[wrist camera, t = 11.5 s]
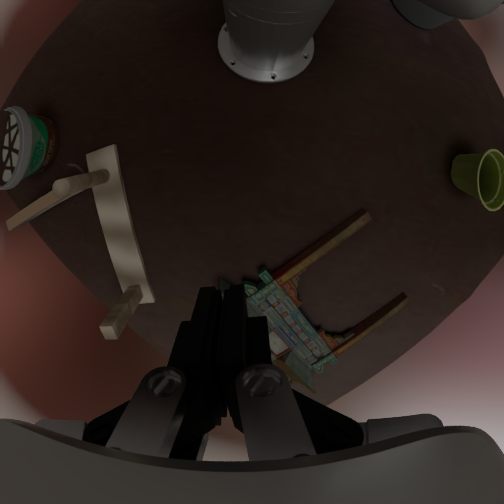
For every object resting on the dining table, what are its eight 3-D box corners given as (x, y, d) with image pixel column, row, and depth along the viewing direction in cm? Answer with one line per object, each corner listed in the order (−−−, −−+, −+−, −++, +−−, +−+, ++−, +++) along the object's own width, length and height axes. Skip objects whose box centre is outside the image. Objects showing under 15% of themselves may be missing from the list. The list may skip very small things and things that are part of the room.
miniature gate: (419, 320, 40) (282, 411, 44) (404, 305, 46) (278, 390, 49) (359, 189, 32) (177, 320, 36) (343, 184, 37) (183, 301, 41)
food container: (59, 184, 34) (18, 197, 24) (34, 180, 33) (-5, 192, 24) (71, 108, 30) (29, 103, 20) (45, 108, 29) (4, 105, 20)
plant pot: (455, 209, 36) (488, 223, 28) (435, 163, 34) (470, 170, 26) (482, 179, 34) (514, 189, 26) (463, 135, 32) (498, 138, 24)
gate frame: (88, 154, 32) (37, 161, 21) (116, 144, 32) (68, 146, 21) (129, 302, 41) (100, 346, 30) (155, 299, 41) (131, 346, 30)
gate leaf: (94, 174, 32) (67, 181, 26) (97, 184, 33) (71, 193, 27) (31, 210, 34) (5, 221, 27) (34, 218, 34) (9, 231, 28)
